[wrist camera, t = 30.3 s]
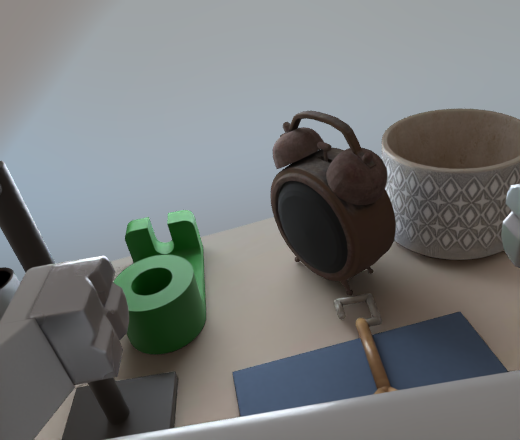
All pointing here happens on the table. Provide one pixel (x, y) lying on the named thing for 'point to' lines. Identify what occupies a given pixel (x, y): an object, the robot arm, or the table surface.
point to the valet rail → (102, 391)
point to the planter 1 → (7, 288)
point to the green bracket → (164, 285)
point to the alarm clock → (331, 201)
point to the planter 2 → (451, 180)
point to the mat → (358, 370)
